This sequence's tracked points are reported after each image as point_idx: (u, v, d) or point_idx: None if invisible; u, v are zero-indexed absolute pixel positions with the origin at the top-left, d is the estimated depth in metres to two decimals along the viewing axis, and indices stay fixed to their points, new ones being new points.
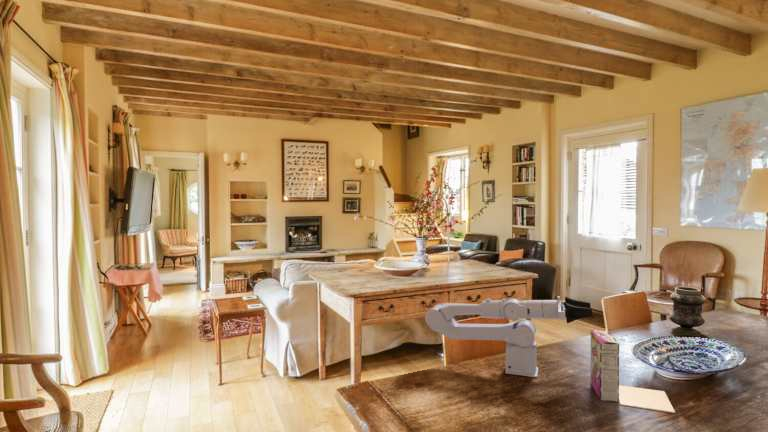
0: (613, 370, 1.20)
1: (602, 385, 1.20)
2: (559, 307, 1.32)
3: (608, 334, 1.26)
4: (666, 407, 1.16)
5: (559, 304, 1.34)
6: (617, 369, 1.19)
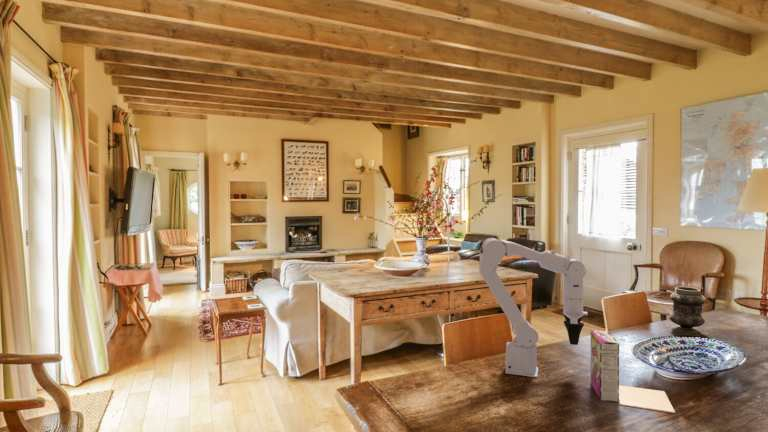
0: (613, 370, 1.20)
1: (602, 385, 1.20)
2: (579, 317, 1.34)
3: (608, 334, 1.26)
4: (666, 407, 1.16)
5: (581, 315, 1.35)
6: (617, 369, 1.19)
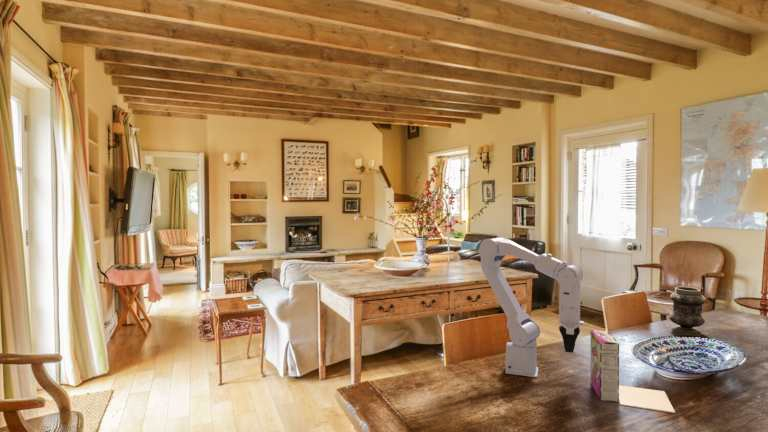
0: (613, 370, 1.20)
1: (602, 385, 1.20)
2: (576, 327, 1.26)
3: (608, 334, 1.26)
4: (666, 407, 1.16)
5: (577, 325, 1.28)
6: (617, 369, 1.19)
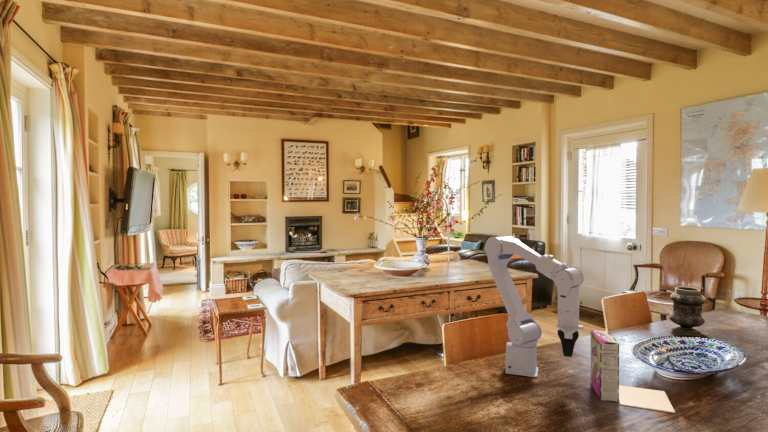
0: (613, 370, 1.20)
1: (602, 385, 1.20)
2: (574, 331, 1.24)
3: (608, 334, 1.26)
4: (666, 407, 1.16)
5: (576, 329, 1.25)
6: (617, 369, 1.19)
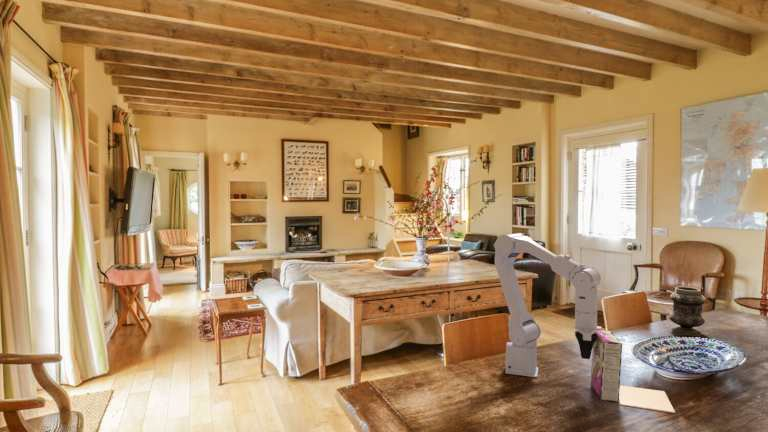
0: (615, 370, 1.19)
1: (603, 384, 1.20)
2: (593, 332, 1.22)
3: (611, 334, 1.26)
4: (666, 407, 1.16)
5: (594, 331, 1.23)
6: (619, 369, 1.19)
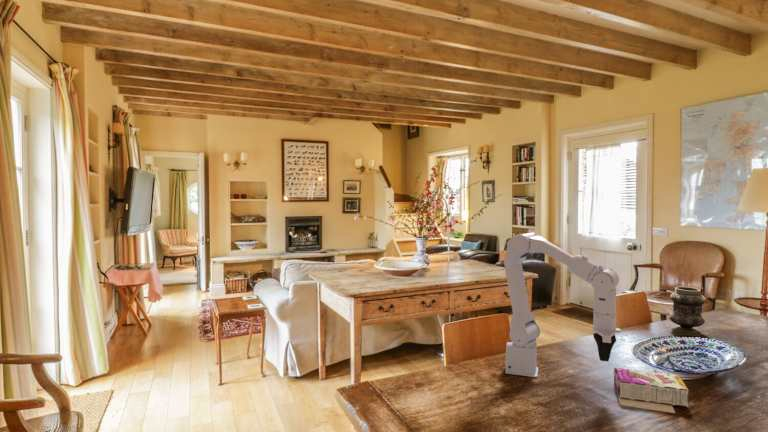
0: (655, 397, 1.18)
1: (637, 385, 1.20)
2: (612, 334, 1.20)
3: None
4: (666, 407, 1.16)
5: (614, 333, 1.21)
6: (657, 401, 1.18)
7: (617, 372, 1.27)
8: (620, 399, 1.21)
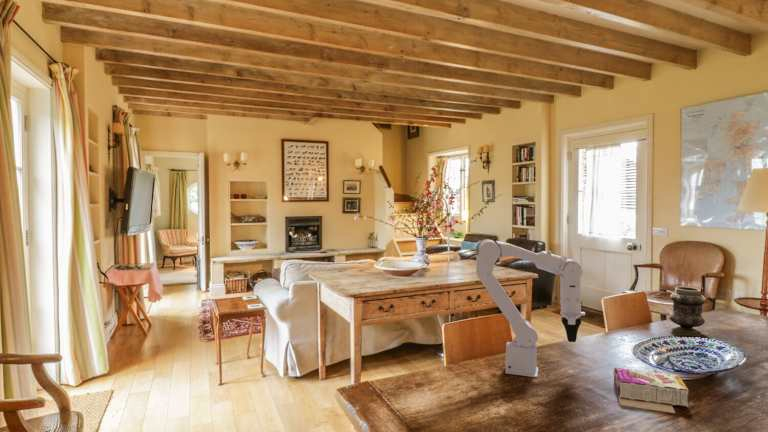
0: (655, 397, 1.18)
1: (637, 385, 1.20)
2: (577, 317, 1.33)
3: None
4: (666, 407, 1.16)
5: (579, 316, 1.35)
6: (657, 401, 1.18)
7: (617, 372, 1.27)
8: (620, 399, 1.21)
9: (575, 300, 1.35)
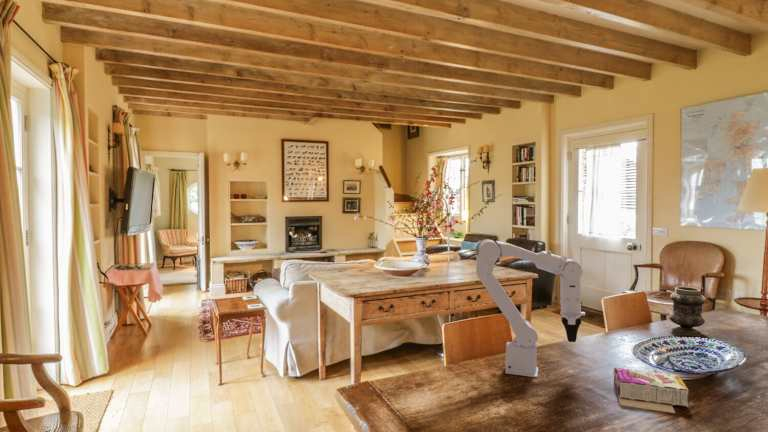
0: (655, 397, 1.18)
1: (637, 385, 1.20)
2: (577, 317, 1.33)
3: None
4: (666, 407, 1.16)
5: (579, 316, 1.35)
6: (657, 401, 1.18)
7: (617, 372, 1.27)
8: (620, 399, 1.21)
9: (575, 300, 1.35)
